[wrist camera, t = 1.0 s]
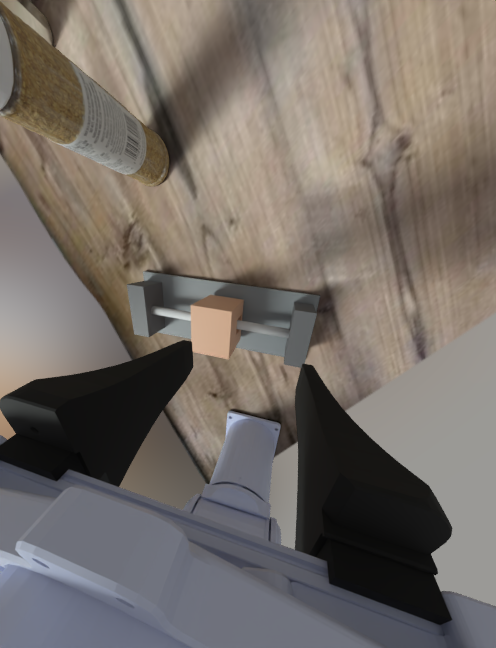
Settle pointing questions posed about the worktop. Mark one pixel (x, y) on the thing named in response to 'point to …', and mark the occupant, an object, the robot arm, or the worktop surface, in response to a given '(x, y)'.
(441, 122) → the worktop surface
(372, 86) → the worktop surface
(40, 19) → the milkshake
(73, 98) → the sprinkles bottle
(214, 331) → the slider
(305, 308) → the rail
